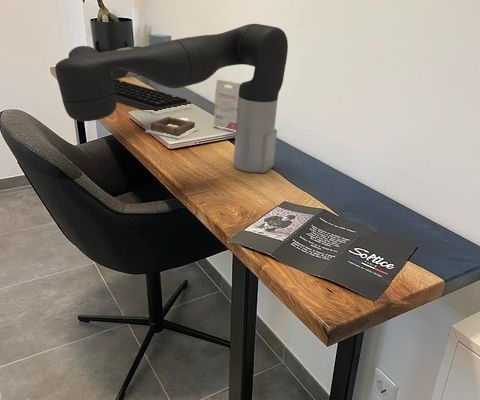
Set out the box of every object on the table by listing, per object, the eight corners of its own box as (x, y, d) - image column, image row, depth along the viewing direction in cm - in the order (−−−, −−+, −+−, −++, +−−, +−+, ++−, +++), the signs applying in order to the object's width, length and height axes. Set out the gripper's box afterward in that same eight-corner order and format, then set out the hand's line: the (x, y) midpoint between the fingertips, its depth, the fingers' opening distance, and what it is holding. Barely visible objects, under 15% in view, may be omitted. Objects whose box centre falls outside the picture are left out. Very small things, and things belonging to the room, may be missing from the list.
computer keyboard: (190, 109, 170) (191, 98, 168) (156, 116, 158) (156, 104, 156) (109, 85, 194) (109, 75, 193) (74, 89, 183) (73, 79, 181)
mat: (199, 129, 146) (199, 128, 146) (178, 139, 136) (178, 138, 136) (167, 123, 150) (168, 121, 150) (145, 132, 140) (145, 130, 140)
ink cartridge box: (244, 129, 150) (248, 81, 144) (237, 133, 146) (241, 83, 140) (220, 124, 154) (223, 77, 148) (212, 127, 150) (215, 79, 144)
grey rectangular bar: (170, 85, 145) (171, 35, 139) (161, 87, 141) (162, 36, 135) (157, 82, 146) (158, 33, 141) (148, 84, 143) (148, 34, 137)
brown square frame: (194, 128, 145) (194, 122, 145) (178, 136, 138) (178, 129, 137) (168, 123, 149) (168, 116, 148) (150, 130, 141) (150, 123, 140)
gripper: (108, 72, 133) (145, 65, 147) (151, 80, 127) (186, 72, 142) (107, 44, 130) (145, 39, 144) (152, 51, 124) (187, 45, 139)
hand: (165, 56), depth 143 cm, fingers closed on grey rectangular bar, 4 cm apart
